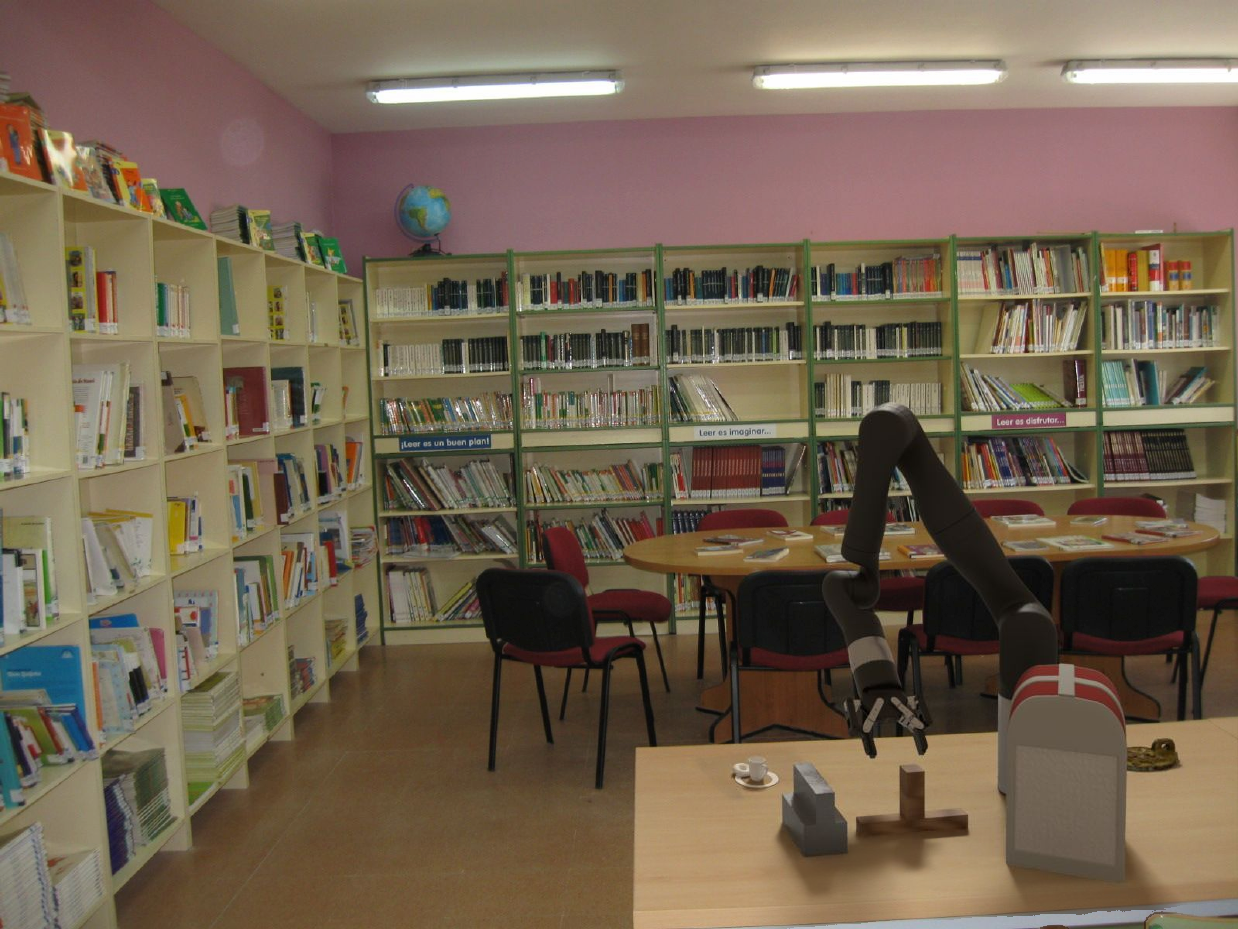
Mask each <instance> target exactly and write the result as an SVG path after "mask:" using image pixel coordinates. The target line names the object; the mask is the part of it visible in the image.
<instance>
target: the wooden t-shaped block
mask: <svg viewBox="0 0 1238 929" xmlns="http://www.w3.org/2000/svg"><path fill="white" fill-rule="evenodd" d="M898 769H899V776H898V777H899V781H898V782H899V812H896V813H885V814H884V813H883V814H874V815H873V814H872V815H861V816H860V815H859V816H856V817H855V830H856V832H857V834H859V836H860V837H861V838H867V837H879V836H890V835H900V834H901V835H902V834H903V835H904V834H912V833H913V834H915V833H925V832H926V833H927V832H928V833H929V832H938V831H939V832H940V831H949V830H950V831H952V830H961V829H968V828H969V814H968V813H967V811H965V810H964V809H963V808H962V807H955V808H946V809H945V808H944V809H933V810H926V807H925V806H926V805H925V803H926V799H925V798H926V796H925V794H926V792H925V791H926V788H925V786H926V778H925V776H926V772H925V770H924V769H923V768H922V767H921V766H920V765H919V764H918V763H912V764H899V768H898Z"/></svg>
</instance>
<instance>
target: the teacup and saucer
mask: <svg viewBox="0 0 1238 929" xmlns="http://www.w3.org/2000/svg"><path fill="white" fill-rule="evenodd" d="M747 763H748V764H747ZM747 763H742V762H741V763H736V764H734V765H733V767H732V771H733V773H734V774H735V777H734V779H735V782H736V783H738V784H739V785H741V786H743V787H748V788H754V789H761V788H762V789H763V788H769V787H772V786H774V785H776V784H777V783H779V777H778V776H777V774H776V773H773V772H772V771H769V768H768V766H767V764H766V758H764V757H762V756H751V757H749V758H748V762H747ZM766 776H769V777H770V778H771V781H770V782H769V783H767V784H762V785H759V784H758V785H756V784H755V785H754V784H749V783H746V782H744V781H743V780H742V778H747V777H748V778H749V777H750V780H752V781H753V782H762V781H763V780H764V778H766Z"/></svg>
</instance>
